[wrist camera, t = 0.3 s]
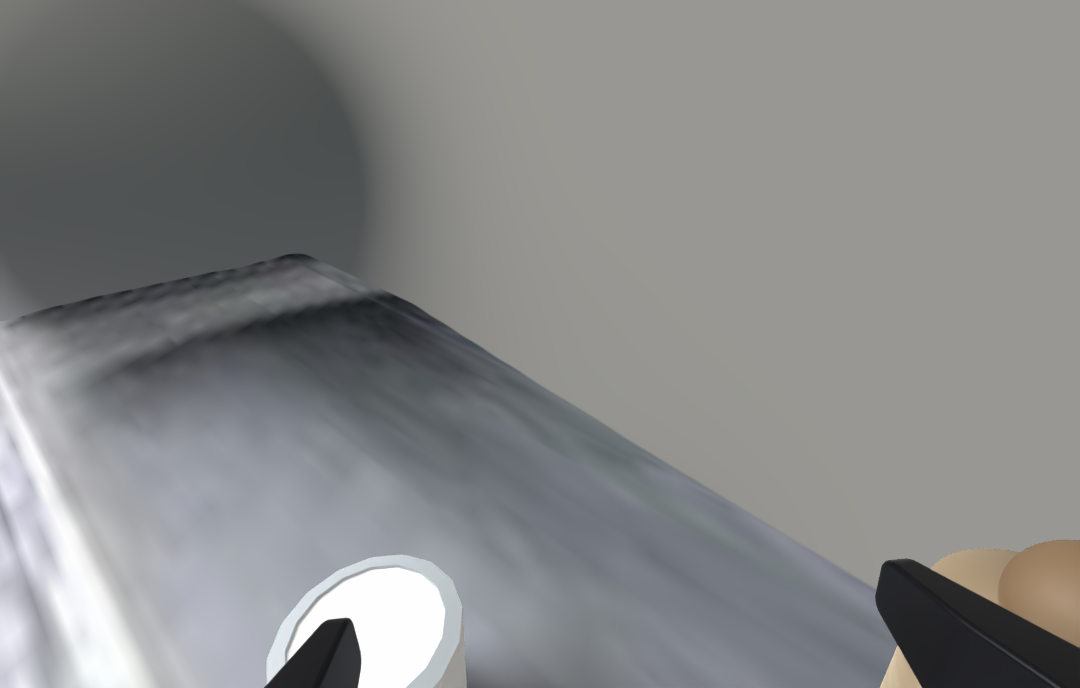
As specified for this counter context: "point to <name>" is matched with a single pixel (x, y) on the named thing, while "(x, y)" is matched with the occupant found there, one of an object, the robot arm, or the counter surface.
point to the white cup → (386, 623)
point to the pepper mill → (1014, 590)
